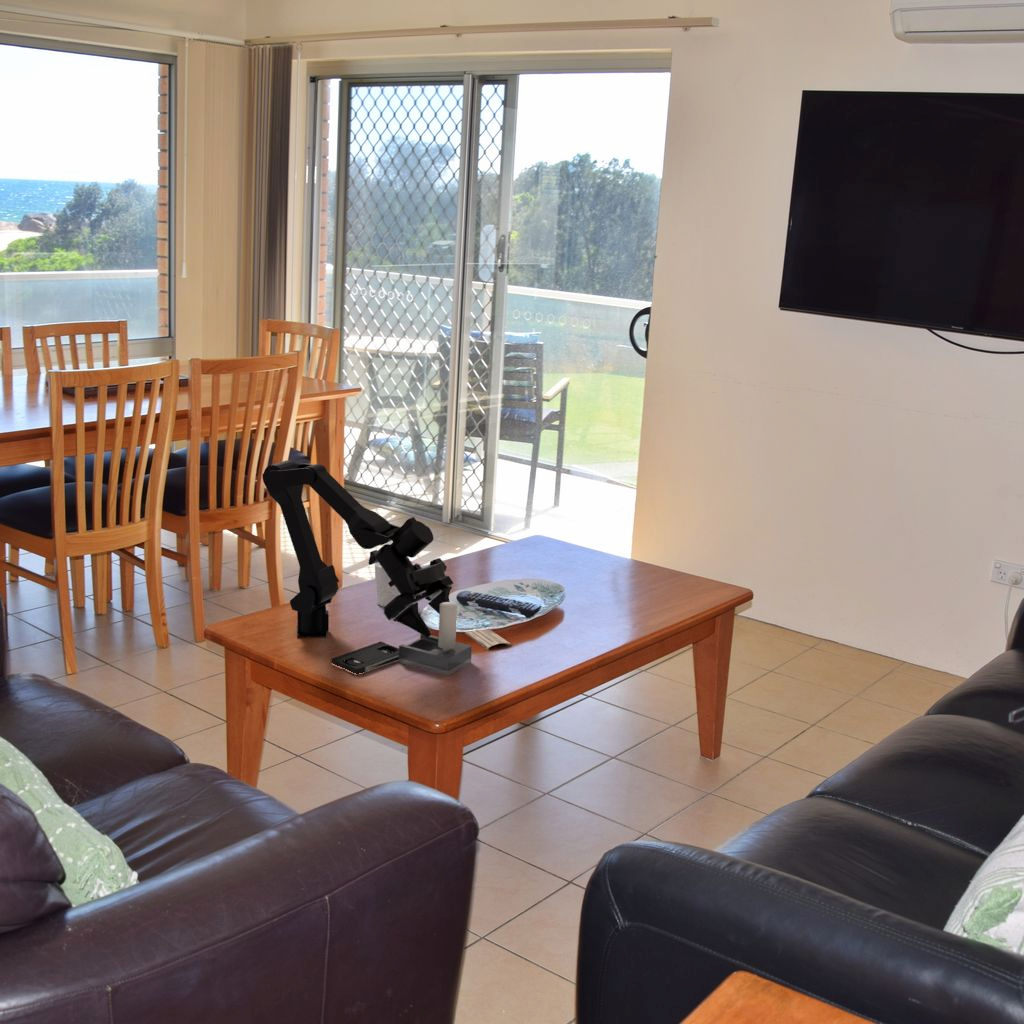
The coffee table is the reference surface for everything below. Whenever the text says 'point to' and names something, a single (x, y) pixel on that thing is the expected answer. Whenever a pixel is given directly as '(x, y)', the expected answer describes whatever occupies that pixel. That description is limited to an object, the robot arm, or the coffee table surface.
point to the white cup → (383, 587)
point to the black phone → (367, 658)
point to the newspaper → (486, 638)
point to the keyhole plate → (435, 655)
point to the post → (447, 625)
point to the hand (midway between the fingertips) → (441, 629)
